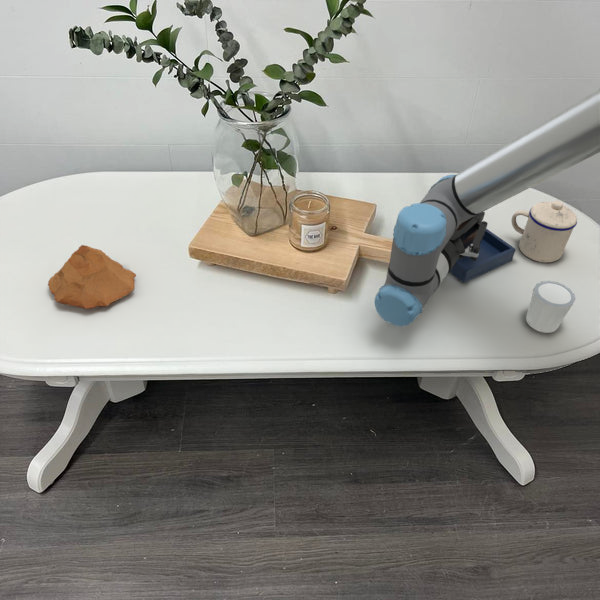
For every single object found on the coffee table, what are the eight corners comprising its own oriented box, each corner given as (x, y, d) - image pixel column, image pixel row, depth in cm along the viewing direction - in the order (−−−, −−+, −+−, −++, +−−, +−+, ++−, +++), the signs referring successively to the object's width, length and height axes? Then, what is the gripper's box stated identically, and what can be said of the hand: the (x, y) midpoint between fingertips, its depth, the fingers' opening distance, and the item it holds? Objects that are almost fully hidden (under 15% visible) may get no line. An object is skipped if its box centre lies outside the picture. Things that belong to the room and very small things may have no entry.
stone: (43, 293, 109) (37, 241, 106) (119, 282, 117) (115, 234, 114) (64, 314, 98) (58, 257, 95) (146, 300, 106) (143, 247, 103)
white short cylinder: (534, 303, 107) (546, 274, 102) (568, 322, 104) (582, 293, 99) (515, 321, 104) (526, 292, 99) (550, 341, 100) (564, 312, 95)
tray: (512, 260, 117) (516, 249, 115) (463, 283, 111) (466, 271, 109) (452, 217, 127) (454, 206, 125) (404, 236, 122) (407, 224, 120)
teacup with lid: (568, 248, 120) (589, 201, 112) (554, 270, 115) (574, 222, 107) (513, 227, 125) (529, 180, 117) (497, 247, 120) (512, 199, 112)
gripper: (388, 262, 108) (436, 205, 123) (466, 294, 102) (507, 230, 117) (393, 230, 103) (443, 174, 117) (476, 261, 97) (518, 199, 112)
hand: (475, 202), depth 117 cm, fingers closed on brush, 2 cm apart
